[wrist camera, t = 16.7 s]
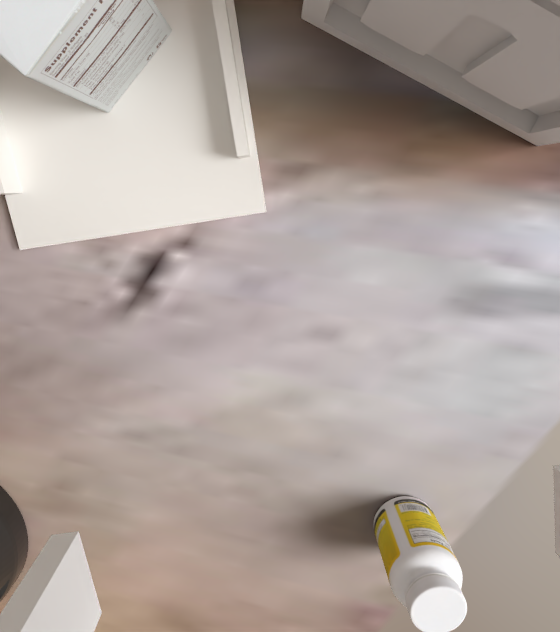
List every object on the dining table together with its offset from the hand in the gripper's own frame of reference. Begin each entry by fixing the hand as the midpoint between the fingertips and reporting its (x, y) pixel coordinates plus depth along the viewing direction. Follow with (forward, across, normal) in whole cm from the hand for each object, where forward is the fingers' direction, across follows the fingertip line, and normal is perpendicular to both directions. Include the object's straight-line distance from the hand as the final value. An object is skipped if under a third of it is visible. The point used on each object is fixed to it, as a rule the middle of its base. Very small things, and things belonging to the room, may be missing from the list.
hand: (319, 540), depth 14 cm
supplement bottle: (+27, -7, +20) cm, 34 cm away
